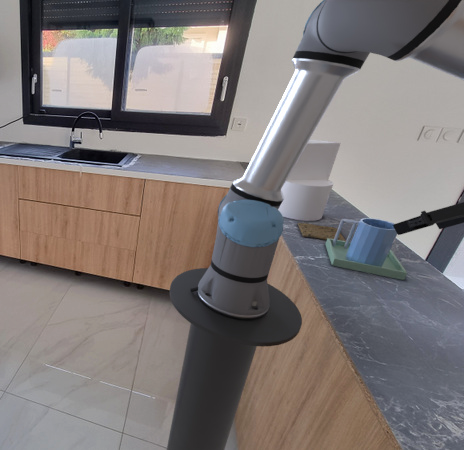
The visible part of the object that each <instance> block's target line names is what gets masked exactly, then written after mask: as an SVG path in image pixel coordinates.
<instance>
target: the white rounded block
mask: <svg viewBox="0 0 464 450" xmlns="http://www.w3.org/2000/svg"><path fill="white" fill-rule="evenodd" d="M340 146H341V142H337V141H331V140H320V139H310V140H309V141H308V143H307V145H306V147H305V148H304V150H303V152H302V154H301V155H300V157H299V159H298V161H297V162H296V164H295V166H294V168H293V169H292V171H291V173H290V175H289V176H288V178H287V180H286V182H285V183H284V185H283V187H282V189H281V191H282V193H283V196H284V200H283V202H282V203H281V205H280V207H279V209H278V210H279V211H280V212H281V214H282V215H283V218H287V219H290V220H296V221H302V222H303V221H304V222H305V221H306V222H312V221H313V222H314V221H319V220H322V218H323V215H324V213H325V210H326V206H327V205H328V204H327V203H328V202H329V198H330V196H331V193H332V189H333V187H334V182H333V181H332V180H329V179H330V176H331V173H332V170H333V166H334V164H335V161H336V158H337V155H338V153H339V149H340Z"/></svg>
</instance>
